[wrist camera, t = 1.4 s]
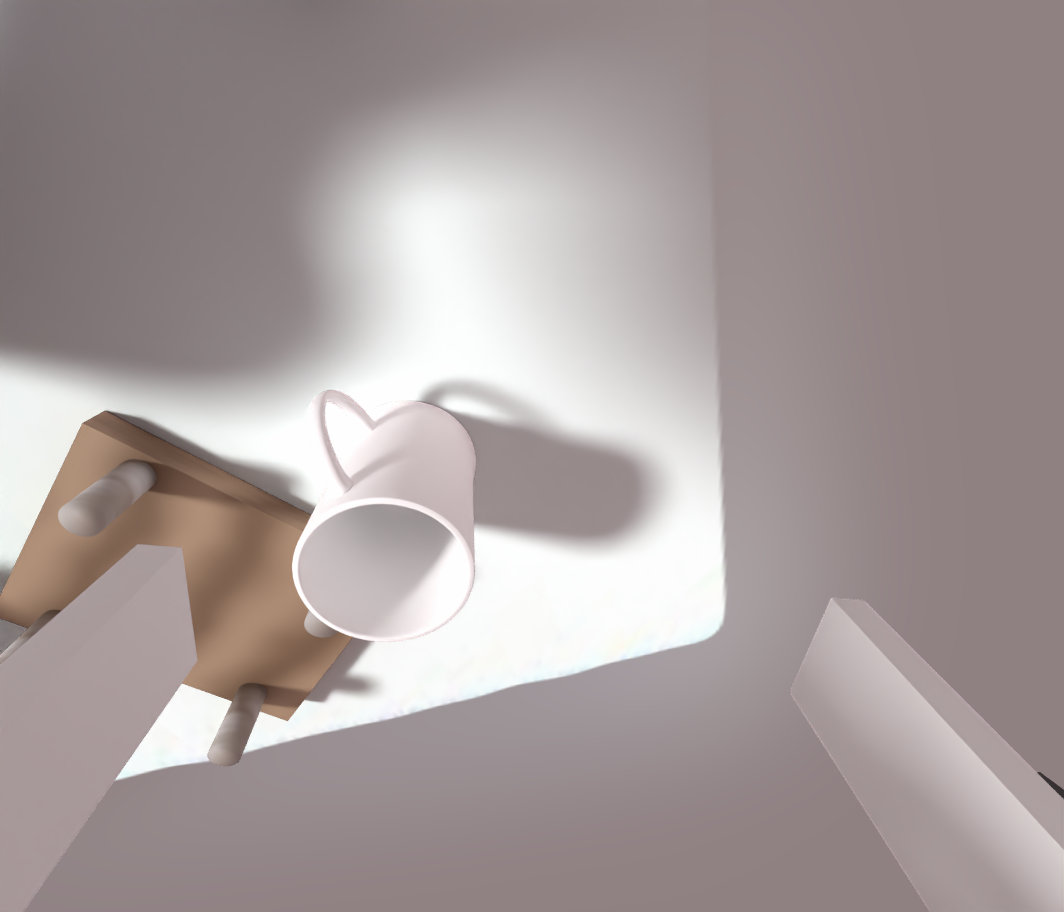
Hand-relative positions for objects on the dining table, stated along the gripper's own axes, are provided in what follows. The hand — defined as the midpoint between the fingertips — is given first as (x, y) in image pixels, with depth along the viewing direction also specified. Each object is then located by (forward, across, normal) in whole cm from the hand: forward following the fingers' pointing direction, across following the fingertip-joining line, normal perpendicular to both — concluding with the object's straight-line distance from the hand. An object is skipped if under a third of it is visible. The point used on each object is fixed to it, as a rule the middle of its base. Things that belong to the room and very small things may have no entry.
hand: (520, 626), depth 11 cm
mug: (+24, -6, -6) cm, 25 cm away
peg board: (+23, -18, -17) cm, 34 cm away
